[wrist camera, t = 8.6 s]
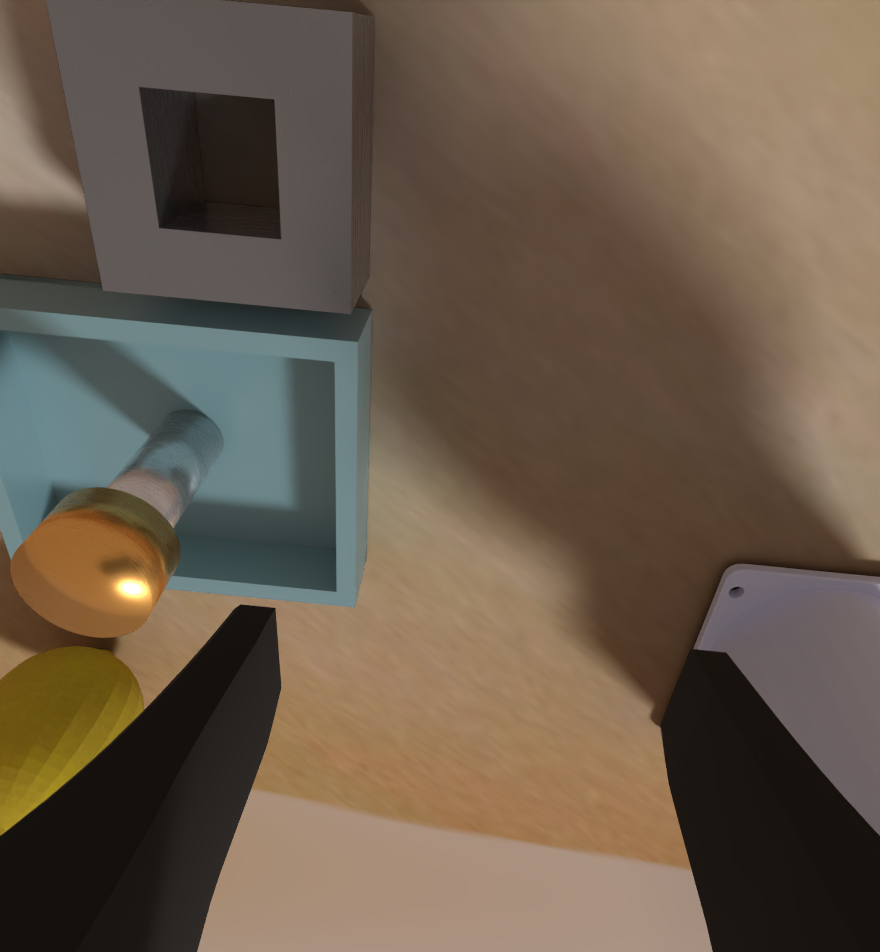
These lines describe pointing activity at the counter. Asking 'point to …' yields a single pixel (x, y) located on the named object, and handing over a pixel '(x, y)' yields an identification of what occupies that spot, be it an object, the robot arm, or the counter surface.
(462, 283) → the counter surface
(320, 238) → the dark disc and block
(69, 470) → the tray
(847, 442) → the counter surface
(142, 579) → the lock pin
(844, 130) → the counter surface
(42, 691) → the lemon
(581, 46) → the counter surface
